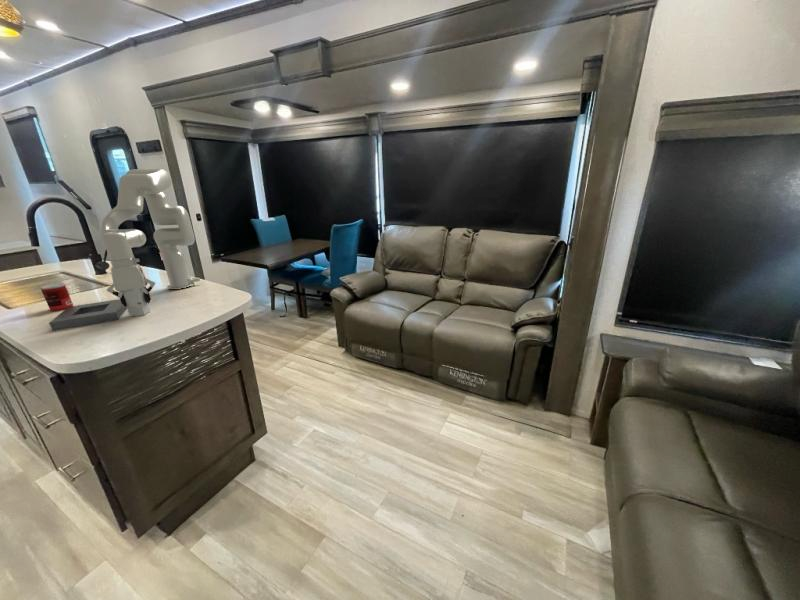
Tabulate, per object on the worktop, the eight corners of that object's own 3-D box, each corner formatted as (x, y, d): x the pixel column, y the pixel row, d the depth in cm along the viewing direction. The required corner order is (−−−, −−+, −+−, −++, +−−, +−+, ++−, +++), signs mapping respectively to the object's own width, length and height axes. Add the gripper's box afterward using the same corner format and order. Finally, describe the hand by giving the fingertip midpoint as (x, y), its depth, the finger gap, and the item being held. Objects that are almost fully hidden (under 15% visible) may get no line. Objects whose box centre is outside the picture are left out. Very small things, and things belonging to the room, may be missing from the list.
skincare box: (129, 316, 133) (120, 289, 129) (136, 312, 138) (127, 286, 133) (145, 315, 134) (136, 288, 130) (151, 311, 138) (143, 285, 134)
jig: (129, 305, 147) (127, 298, 146) (118, 319, 130) (115, 311, 129) (72, 314, 138) (68, 306, 137) (52, 331, 121) (48, 322, 120)
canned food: (72, 304, 151) (63, 282, 147) (75, 307, 146) (65, 284, 142) (49, 308, 145) (39, 286, 141) (51, 312, 140) (40, 289, 136)
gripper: (151, 258, 135) (163, 297, 141) (98, 264, 127) (113, 305, 133) (148, 261, 129) (161, 302, 135) (92, 267, 121) (108, 310, 127)
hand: (137, 303), depth 134 cm, fingers closed on skincare box, 7 cm apart
